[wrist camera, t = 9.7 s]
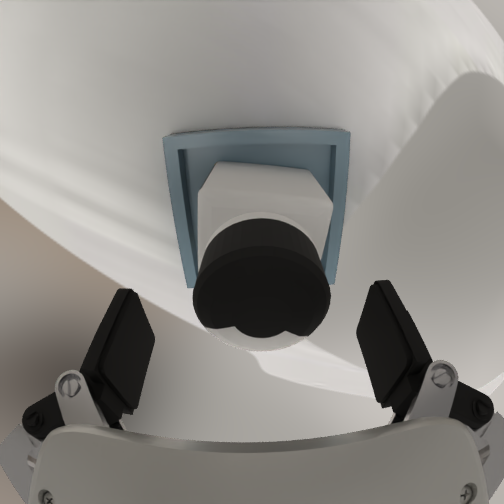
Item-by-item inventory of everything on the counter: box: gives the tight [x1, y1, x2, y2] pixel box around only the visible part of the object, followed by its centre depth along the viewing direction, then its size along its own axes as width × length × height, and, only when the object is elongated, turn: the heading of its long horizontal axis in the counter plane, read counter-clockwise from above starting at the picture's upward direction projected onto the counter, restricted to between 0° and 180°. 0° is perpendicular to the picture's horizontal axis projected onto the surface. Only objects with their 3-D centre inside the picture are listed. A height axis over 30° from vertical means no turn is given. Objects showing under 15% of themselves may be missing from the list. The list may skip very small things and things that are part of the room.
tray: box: [163, 127, 350, 288], centre depth 21 cm, size 13×13×2 cm
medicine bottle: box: [193, 161, 333, 351], centre depth 16 cm, size 7×7×12 cm
